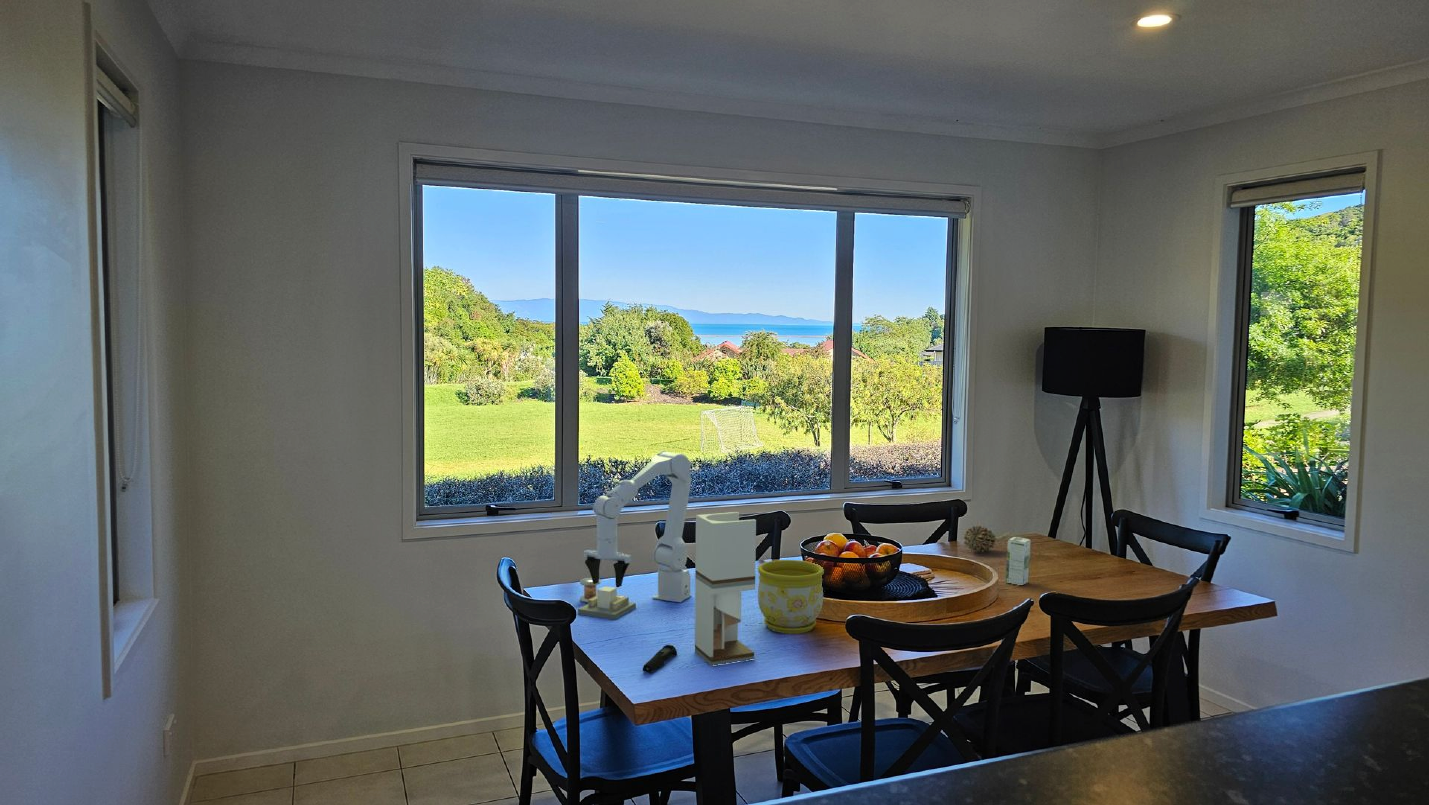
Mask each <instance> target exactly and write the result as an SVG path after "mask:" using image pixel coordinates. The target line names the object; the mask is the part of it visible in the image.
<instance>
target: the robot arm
mask: <svg viewBox="0 0 1429 805" xmlns="http://www.w3.org/2000/svg"><path fill="white" fill-rule="evenodd" d="M691 464H692V462H691V461H690V460H689V458H688V456H686V455H685V454H683V453H676V452H675V453H674V452H670V451H666V450H662V451H659V452H658V453H657V454H656V455H654V456H653V457H652V458H651V461H649V462H648V463H647V465H645V466H644V467H643V468H642V469H640V470H639V472H638V473H637V474H635V475H634V476H633V477H632V478H631V479H624V480H623V479H622V480H620V481H618V484H617V485H616V486H615V487H614V488H612V489H610V490H608V491H607V492H606V494H605V495H600V496H598V497H597V498H596V499H595V501H594V504H593V505H592V511H593V512H594V514H595V516H596V518H595V519H596V550H595V549H594V550H593V549H587V550H583V558H584V559H586V560H584V563H585V566H586V567H587V569H588V572H589V573H590V576H591V577H590V578H592V581H593V584H596V583H598V582H599V579H600V567H601V560H602V561H603V560H605V561H613V562H615V563H613V568H614V574H615V588H620V587H621V586H622V585H623V581H624V578H625V574H626V572H627V570H628V568H629V566H630V563H631V562H632V555H631V554H626V553H623V552H618V516H619V515H620V514H621V512H622V509H623V508H624V506H626V505H627V504H628V503H630V501H632V500H633V499H634V498H635V497H637V496H638V492H639V489H640V488H642V487H644V485H646V484H647V483H649V482H650V481H652V480H653V479H654V478H656V477H657V476H660V475H661V476H662V475H663V476H666V478H667V479H668V480H669V481H670V482H671V491H670V497H669V503H668V508H667V514H666V520H665V527H664V531H663V535H662V536H660V538H658V540H657V544H656V546H655V548H654V550H653V554H652V557H653V561H654V562H655V563H656V567H657V594H655V595H653V596H652V599H653V600H661V601H668V602H676V603H681V602H683V601H685V600H687V599H688V598H690V597H691V596H692V594H691V574H690V573H691V572H690V571H688V570H686V569H684V567H685V566H686V564H687V560H688V555H687V544H686V543H685V541H684V539H683V532H684V527H685V521H686V516H687V515H686V514H687V510H688V504H689V498H690V493H691V492H690V491H691V487H692V475H691Z"/></svg>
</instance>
